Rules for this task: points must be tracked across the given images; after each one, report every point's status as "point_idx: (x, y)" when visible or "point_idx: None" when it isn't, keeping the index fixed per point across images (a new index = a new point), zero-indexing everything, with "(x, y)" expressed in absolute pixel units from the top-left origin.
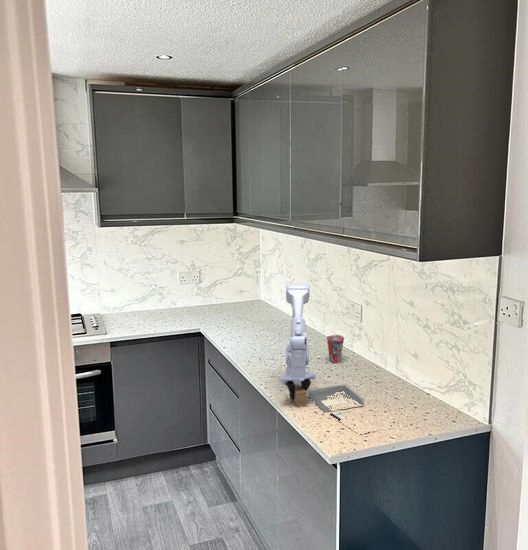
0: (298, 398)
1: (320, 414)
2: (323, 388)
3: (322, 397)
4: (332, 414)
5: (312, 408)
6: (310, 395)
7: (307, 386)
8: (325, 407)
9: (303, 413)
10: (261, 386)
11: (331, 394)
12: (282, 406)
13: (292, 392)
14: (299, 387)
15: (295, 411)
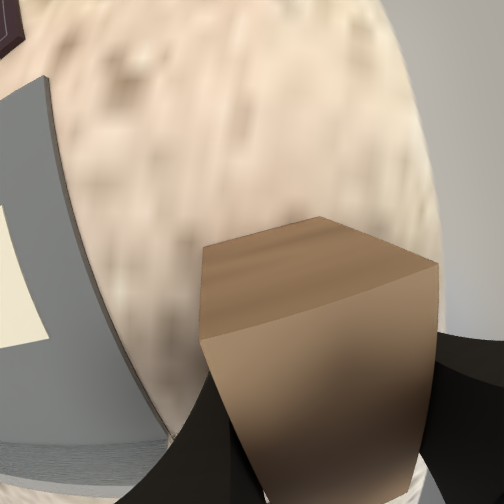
0: (346, 242)
1: (90, 37)
2: (40, 478)
3: (46, 400)
4: (2, 31)
5: (139, 178)
6: (149, 444)
7: (167, 488)
8: (9, 177)
9: (267, 58)
10: (421, 486)
11: (4, 425)
12: (434, 250)
13: (444, 340)
14: (313, 480)
15: (346, 118)
